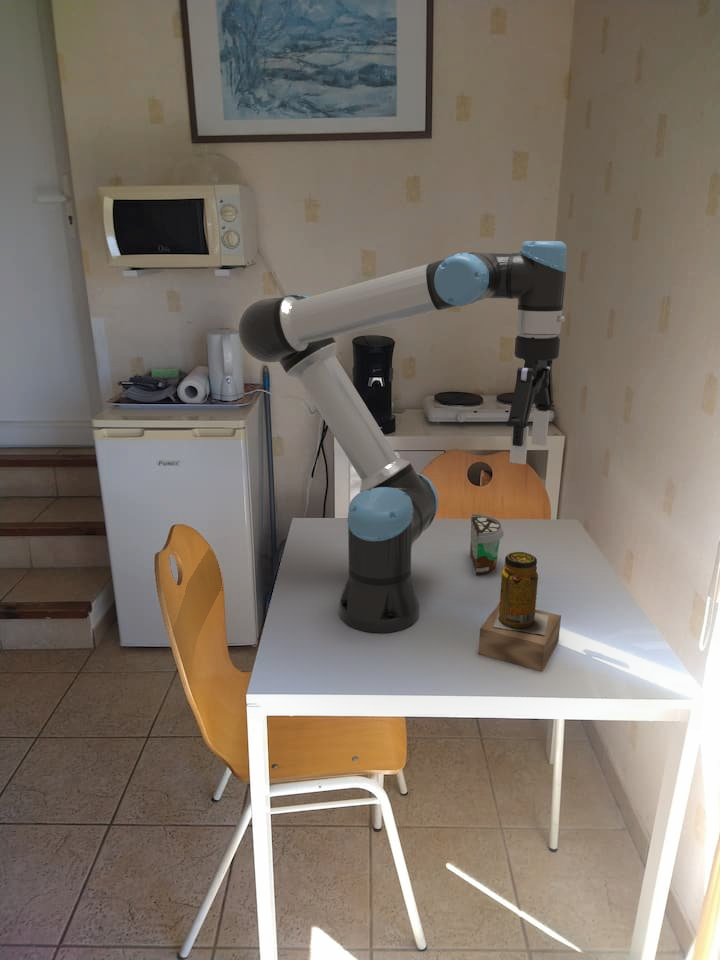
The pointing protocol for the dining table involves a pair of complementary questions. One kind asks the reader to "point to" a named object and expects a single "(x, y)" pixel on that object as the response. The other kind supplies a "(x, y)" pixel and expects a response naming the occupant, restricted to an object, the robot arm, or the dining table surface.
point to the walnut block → (519, 642)
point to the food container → (484, 543)
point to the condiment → (520, 595)
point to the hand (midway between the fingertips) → (528, 453)
